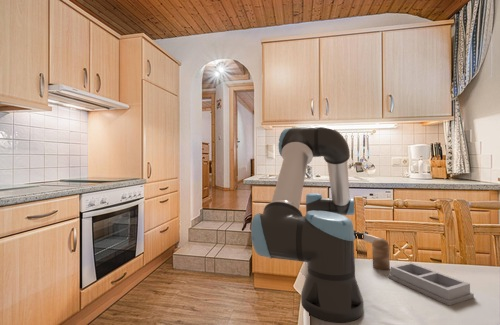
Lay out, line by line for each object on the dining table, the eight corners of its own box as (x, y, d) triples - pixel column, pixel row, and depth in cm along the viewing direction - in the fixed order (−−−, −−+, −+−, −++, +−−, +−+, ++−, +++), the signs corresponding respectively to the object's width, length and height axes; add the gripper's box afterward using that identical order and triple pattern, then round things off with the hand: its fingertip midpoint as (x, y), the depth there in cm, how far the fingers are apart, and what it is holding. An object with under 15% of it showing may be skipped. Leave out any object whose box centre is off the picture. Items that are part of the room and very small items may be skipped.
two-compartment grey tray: (388, 277, 81) (388, 266, 81) (410, 272, 85) (410, 261, 85) (449, 305, 65) (448, 291, 65) (473, 297, 68) (473, 284, 69)
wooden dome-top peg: (375, 269, 88) (374, 239, 88) (370, 264, 93) (370, 235, 93) (392, 270, 87) (391, 240, 87) (386, 264, 92) (385, 236, 92)
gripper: (349, 235, 122) (388, 249, 102) (303, 242, 112) (337, 258, 93) (349, 219, 122) (388, 229, 102) (303, 225, 112) (336, 237, 93)
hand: (363, 243), depth 97 cm, fingers open, 13 cm apart
